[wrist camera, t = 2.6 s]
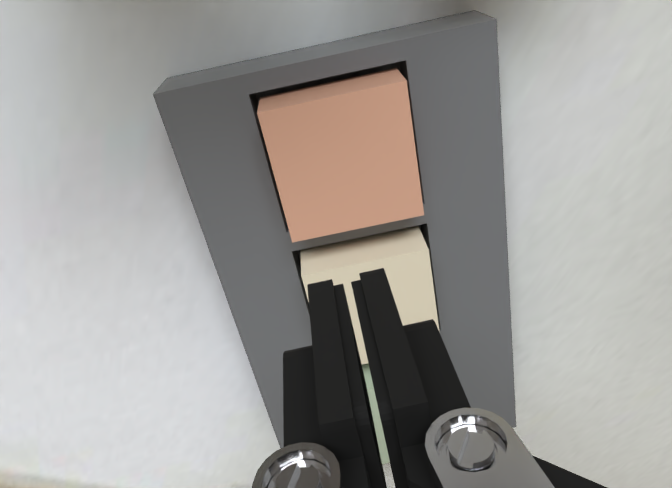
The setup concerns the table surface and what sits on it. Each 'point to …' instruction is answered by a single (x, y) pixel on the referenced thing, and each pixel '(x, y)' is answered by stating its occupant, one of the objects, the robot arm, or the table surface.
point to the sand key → (370, 254)
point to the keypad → (435, 225)
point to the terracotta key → (343, 154)
